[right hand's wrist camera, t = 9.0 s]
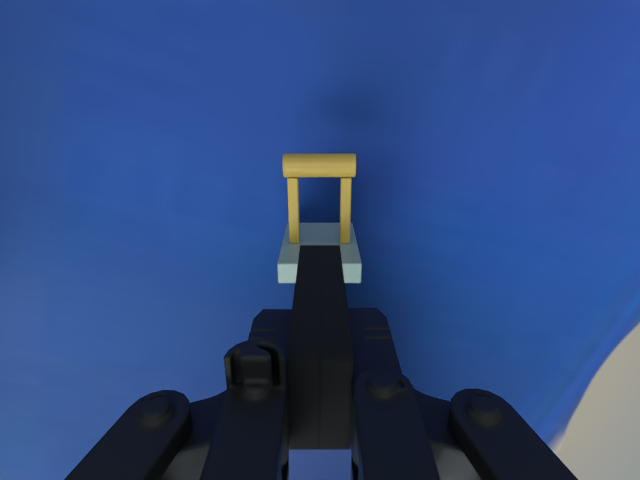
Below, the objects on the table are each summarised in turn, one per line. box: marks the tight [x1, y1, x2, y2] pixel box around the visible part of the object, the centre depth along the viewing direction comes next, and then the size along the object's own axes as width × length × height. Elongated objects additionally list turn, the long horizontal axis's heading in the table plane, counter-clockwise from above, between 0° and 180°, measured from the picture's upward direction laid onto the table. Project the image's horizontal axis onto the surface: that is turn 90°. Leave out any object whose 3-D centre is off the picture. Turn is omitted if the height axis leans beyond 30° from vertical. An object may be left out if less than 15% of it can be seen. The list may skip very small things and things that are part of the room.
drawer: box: [277, 153, 362, 283], centre depth 26 cm, size 23×4×7 cm, turn 0°
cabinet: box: [289, 445, 351, 480], centre depth 31 cm, size 19×6×8 cm, turn 0°
